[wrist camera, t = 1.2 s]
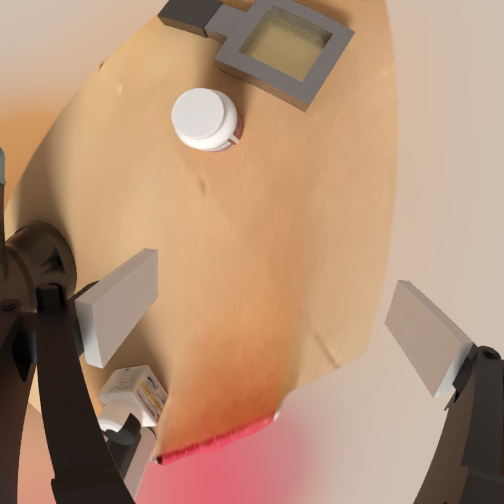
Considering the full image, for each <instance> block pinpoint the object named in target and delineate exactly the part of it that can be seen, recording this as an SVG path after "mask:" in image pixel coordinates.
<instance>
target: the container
mask: <svg viewBox="0 0 504 504" xmlns="http://www.w3.org/2000/svg"><path fill="white" fill-rule="evenodd" d="M98 398H99V399H100V400H101V402H102V403H103V404H104V406H105V407H104V409H103V410H102V412H101V413H100V415H99V417H98V418H97V420H98V423H99V425H100V428H101V431H102V433H103V434H104V435H105V436H106V437H107V438H109V439H110V440H112V441H114V442H116V443H119V444H123V445H130V444H133V443H135V441H136V439H137V437H138V434H139V432H140V430H141V428H142V427H147V426H156V425H157V423H158V421H159V418H160V416H161V413H162V411H163V409H164V406H165V404H166V401H167V399H168V395H167V393H166V392H165V390H164V389H163V387H162V386H161V384H160V383H159V381H158V380H157V378H156V377H155V375H154V374H153V372H152V371H151V369H150V367H149V366H148V365H141V366H135V367H129V368H122V369H116V370H114V372H113V373H112V375H111V376H110V378H109V379H108V381H107V382H106V383H105V385H104V386H103V388H102V389H101V391H100V392H99V394H98Z"/></svg>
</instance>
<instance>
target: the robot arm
mask: <svg viewBox="0 0 504 504" xmlns="http://www.w3.org/2000/svg"><path fill="white" fill-rule="evenodd" d="M4 174H5V155H4V152H3V150H2V149H1V148H0V504H17V486H18V467H19V456H20V446H21V439H22V438H21V437H22V431H23V425H24V419H25V413H26V407H27V403H28V398H29V394H30V389H31V385H32V381H33V377H34V373H35V369H36V365H37V374H38V386H39V395H40V403H41V411H42V417H43V423H44V429H45V434H46V439H47V444H48V449H49V453H50V457H51V461H52V465H53V469H54V473H55V478H53V479H51V486H52V490H53V494H54V497H55V500H56V504H136V503H135V501H134V500H133V498H132V496H131V494H130V492H129V490H128V488H127V486H126V485H125V483H124V481H123V479H122V477H121V475H120V472H119V470H118V468H117V466H116V464H115V462H114V460H113V457H112V455H111V453H110V450H109V448H108V446H107V443H106V441H105V438H104V436H103V433H102V431H101V428H100V425H99V423H98V420H97V417H96V414H95V411H94V408H93V405H92V402H91V399H90V396H89V393H88V390H87V386H86V383H85V379H84V376H83V372H82V368H81V365H80V361H79V356H80V355H81V354H82V353H83V352H84V354H85V359H86V363H87V364H90V365H93V366H96V367H99V368H102V369H103V368H104V367H105V365H106V364H107V363H108V361H109V360H110V359H111V357H112V356H113V355H114V353H115V352H116V351H117V349H118V348H119V347H120V345H121V344H122V343H123V341H124V340H125V339H126V337H127V336H128V335H129V333H130V332H131V331H132V329H133V328H134V327H135V326H136V324H137V323H138V322H139V320H140V319H141V318H142V316H143V315H144V314H145V313H146V311H147V310H148V309H149V308H150V306H151V305H152V304H153V302H154V301H155V300H156V299H157V297H158V291H157V267H158V250H153V249H146V248H144V249H143V250H142V251H140V252H139V253H137V254H136V255H135V256H133V257H132V258H130V259H129V260H128V261H126V262H125V263H123V264H122V265H121V266H119V267H118V268H117V269H115V270H114V271H113V272H111V273H110V274H108V275H107V276H106V277H104V278H103V279H102V280H100V281H96V282H93V283H90V284H88V285H87V286H85V287H84V288H83V289H82V290H80V291H79V292H77V294H75V295H73V294H74V291H75V287H76V269H75V264H74V260H73V257H72V254H71V251H70V249H69V247H68V245H67V243H66V241H65V240H64V238H63V237H62V236H61V234H60V233H59V232H58V231H57V230H56V229H55V228H54V227H52V226H51V225H49V224H47V223H45V222H41V221H36V222H32V223H29V224H26V225H24V226H22V227H21V228H19V229H18V230H17V231H16V232H15V234H14V235H12V236H11V237H10V238H9V239H8V240H7V241H6V242H5V233H4V186H5V184H6V182H5V176H4ZM385 324H386V326H387V327H388V329H389V330H390V332H391V333H392V335H393V336H394V338H395V339H396V341H397V342H398V344H399V345H400V346H401V348H402V350H403V351H404V353H405V354H406V356H407V357H408V359H409V360H410V362H411V363H412V365H413V366H414V368H415V369H416V371H417V373H418V374H419V376H420V377H421V379H422V381H423V382H424V384H425V385H426V387H427V389H428V390H429V392H430V394H431V395H432V397H433V398H435V397H442V396H446V395H447V393H448V391H449V389H450V388H451V386H452V385H453V386H454V387H455V389H456V391H455V393H454V394H453V396H452V398H451V399H450V401H449V402H448V404H447V406H446V407H445V409H444V410H447V408H449V410H448V414H447V417H446V421H445V424H444V428H443V431H442V434H441V437H440V440H439V443H438V446H437V449H436V452H435V454H434V457H433V460H432V462H431V465H430V467H429V470H428V472H427V475H426V477H425V480H424V482H423V484H422V486H421V488H420V491H419V493H418V495H417V497H416V499H415V501H414V503H413V504H504V360H501V356H500V355H499V353H498V352H497V351H495V350H494V349H493V348H490V347H487V346H480V347H477V346H476V345H475V344H474V342H473V341H472V340H471V339H470V338H469V337H468V336H467V335H466V334H465V333H464V332H463V331H462V330H461V329H460V328H459V327H458V326H457V325H456V324H455V323H454V322H453V321H452V320H451V319H450V318H449V317H448V316H447V315H446V314H445V313H443V312H442V311H441V310H440V309H439V308H438V307H437V306H436V305H435V304H434V303H433V302H432V301H431V300H430V299H428V298H427V297H426V296H425V295H424V294H423V293H422V292H421V291H420V290H419V289H417V288H416V287H415V286H414V285H413V284H412V283H411V282H409V281H404V280H398V282H397V285H396V289H395V292H394V295H393V299H392V302H391V305H390V309H389V312H388V315H387V318H386V321H385Z"/></svg>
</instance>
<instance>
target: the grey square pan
mask: <svg viewBox="0 0 504 504" xmlns="http://www.w3.org/2000/svg"><path fill="white" fill-rule="evenodd" d="M157 16H158V17H159V19H160V20H161V21H162V22H163V23H164V25H167V26H171V27H174V28H178V29H181V30H184V31H188V32H191V33H194V34H197V35H200V36H203V37H206V38H207V37H210V38H212V39H215V40H218V41H220V42H223V43H224V44H223V45H222V47H221V48H220V49H219V51H218V52H217V54H216V55H215V57H214V58H213V59H214V61H215V63H216V65H217V67H218V69H219V70H221V71H223V72H226V73H228V74H230V75H233V76H235V77H237V78H239V79H241V80H244V81H246V82H248V83H250V84H252V85H254V86H256V87H258V88H260V89H262V90H264V91H266V92H268V93H270V94H272V95H274V96H276V97H278V98H280V99H282V100H284V101H286V102H287V103H289V104H291V105H293V106H295V107H296V108H298V109H300V110H302V111H304V112H306V110H307V109H308V107H309V106H310V104H311V102H312V101H313V99H314V97H315V96H316V94H317V92H318V91H319V89H320V88H321V86H322V84H323V83H324V81H325V79H326V78H327V76H328V75H329V73H330V71H331V70H332V68H333V67H334V65H335V63H336V62H337V60H338V59H339V57H340V55H341V54H342V52H343V51H344V49H345V47H346V46H347V44H348V43H349V41H350V40H351V38H352V36H353V35H354V33H355V32H354V31H353V30H351V29H349V28H347V27H346V26H344V25H342V24H340V23H338V22H336V21H335V20H333V19H331V18H329V17H327V16H325V15H323V14H321V13H319V12H317V11H315V10H313V9H310V8H308V7H306V6H304V5H302V4H299V3H297V2H295V1H292V0H256V1H255V3H254V4H253V5H252V6H251V8H250V9H249V10H248V11H247V12H245V11H242V10H239V9H237V8H234V7H231V6H227V5H224V4H223V2H221V1H218V0H169V1H168V2H167V4H166V5H165V6H164V7H163V9H162V10H161V11H160V13H159V14H158V15H157Z"/></svg>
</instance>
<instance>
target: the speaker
mask: <svg viewBox="0 0 504 504" xmlns="http://www.w3.org/2000/svg"><path fill="white" fill-rule="evenodd" d="M104 438H105V441H106V443H107V446H108V448H109V450H110V453H111V455H112V457H113V460H114V462H115V464H116V466H117V468H118V470H119V472H120V475H121V477H122V479H123V481H124V483H125V485H126V486H127V488H128V490H129V492H130V494H131V496H132V498H133V500H134V501H135V499H136V496H137V493H138V490H139V487H140V484H141V481H142V479H143V476H144V473H145V471H146V468H147V465H148V463H149V460H150V457H151V455H152V452H153V450H154V447H155V444H156V437H155V435H154V433H153V432H152V431H151V430H150V429H149V428H148V427H142V428H141V430H140V432H139V434H138V437H137V439H136V441H135V443H133V444H130V445H123V444H119V443H116V442H114V441H112V440H110V439H109V438H107V437H106V436H105V437H104Z"/></svg>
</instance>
